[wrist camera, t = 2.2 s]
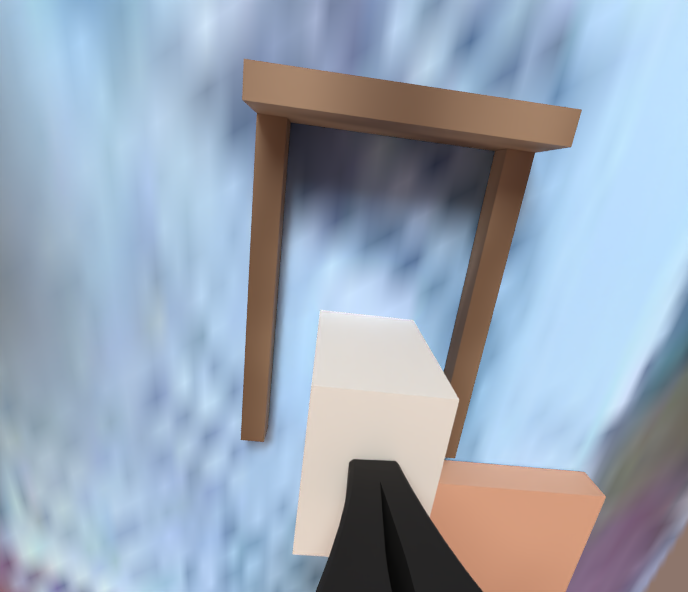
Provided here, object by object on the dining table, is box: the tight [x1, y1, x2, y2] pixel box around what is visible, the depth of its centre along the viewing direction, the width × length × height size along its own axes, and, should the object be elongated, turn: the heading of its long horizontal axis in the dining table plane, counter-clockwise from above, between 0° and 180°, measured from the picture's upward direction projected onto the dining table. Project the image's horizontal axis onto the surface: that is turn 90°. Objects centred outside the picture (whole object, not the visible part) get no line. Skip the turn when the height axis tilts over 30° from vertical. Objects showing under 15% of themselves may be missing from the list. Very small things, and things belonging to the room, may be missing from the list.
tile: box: [430, 460, 606, 592], centre depth 18 cm, size 8×8×2 cm
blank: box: [293, 310, 459, 557], centre depth 13 cm, size 4×6×6 cm, turn 173°
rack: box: [241, 59, 582, 458], centre depth 14 cm, size 10×14×3 cm
